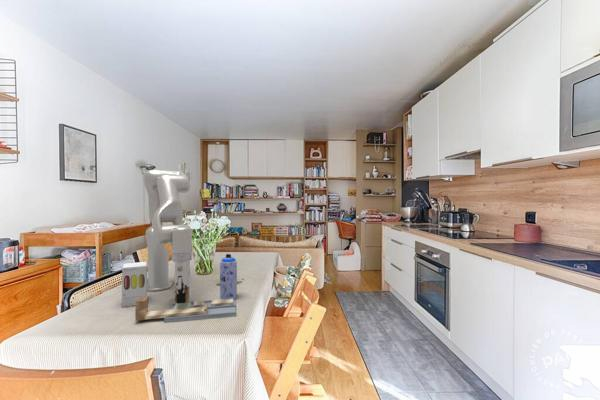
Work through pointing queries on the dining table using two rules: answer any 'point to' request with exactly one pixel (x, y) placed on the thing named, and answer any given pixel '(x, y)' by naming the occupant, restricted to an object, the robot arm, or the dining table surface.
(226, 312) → the slate board
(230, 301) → the broken strip
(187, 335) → the dining table surface
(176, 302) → the walnut block
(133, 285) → the supplement box
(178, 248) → the robot arm
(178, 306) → the felt coaster
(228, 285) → the aerosol can
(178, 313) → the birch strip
